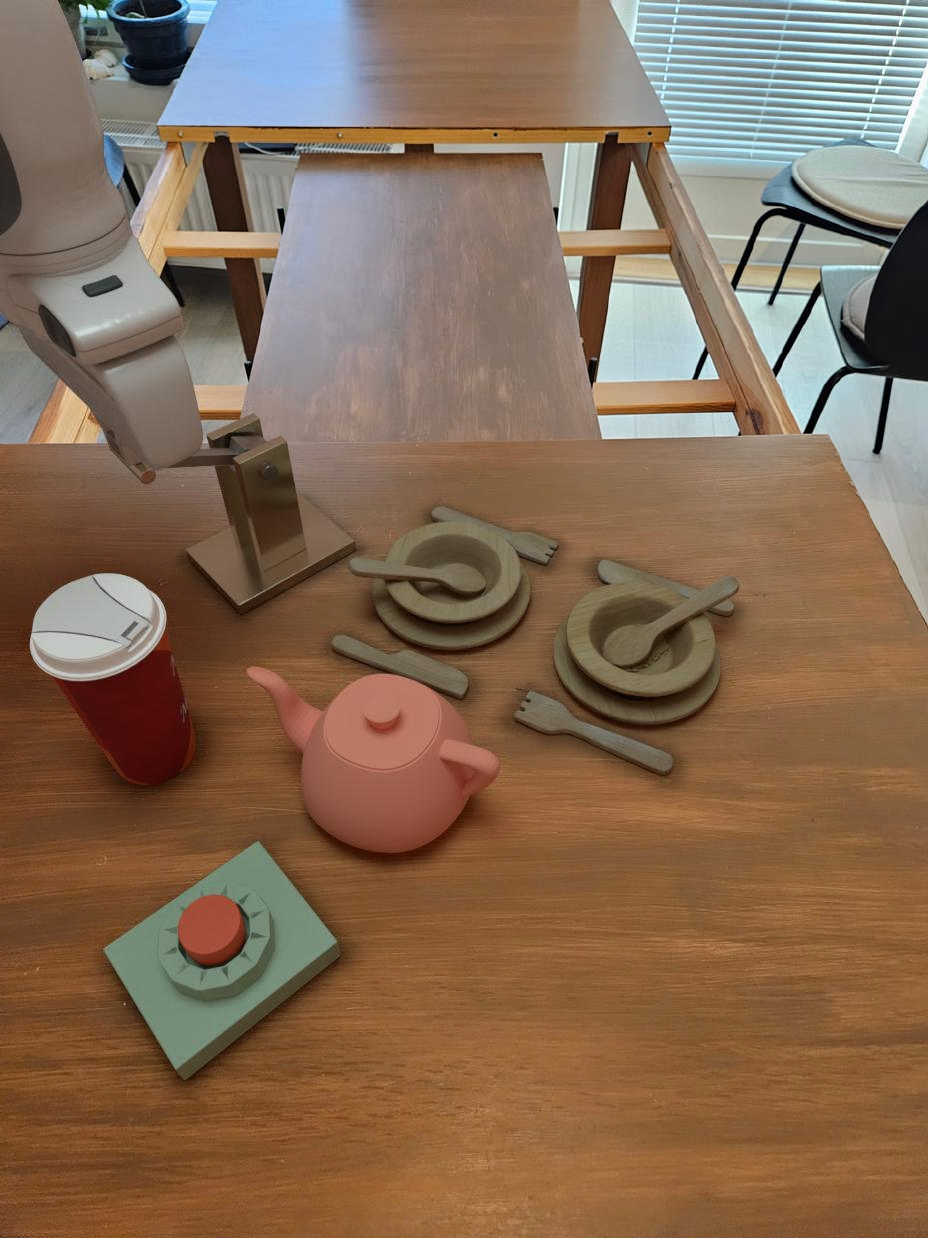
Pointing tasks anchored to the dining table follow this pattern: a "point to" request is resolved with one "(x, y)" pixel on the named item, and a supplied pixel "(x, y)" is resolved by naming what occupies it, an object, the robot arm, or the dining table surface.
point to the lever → (201, 457)
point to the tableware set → (584, 643)
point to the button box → (234, 990)
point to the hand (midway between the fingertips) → (130, 453)
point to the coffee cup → (118, 673)
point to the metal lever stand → (264, 524)
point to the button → (212, 930)
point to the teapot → (382, 760)
